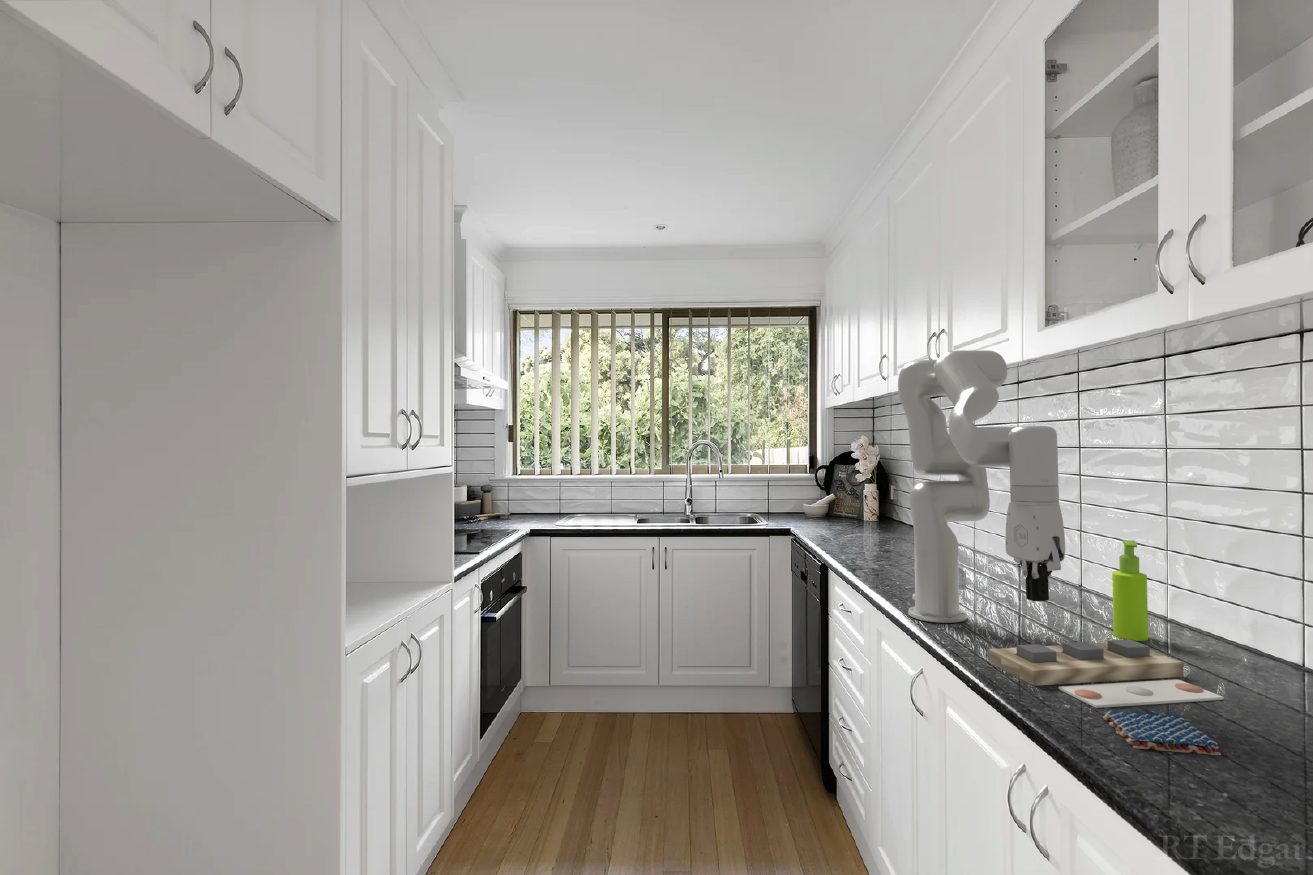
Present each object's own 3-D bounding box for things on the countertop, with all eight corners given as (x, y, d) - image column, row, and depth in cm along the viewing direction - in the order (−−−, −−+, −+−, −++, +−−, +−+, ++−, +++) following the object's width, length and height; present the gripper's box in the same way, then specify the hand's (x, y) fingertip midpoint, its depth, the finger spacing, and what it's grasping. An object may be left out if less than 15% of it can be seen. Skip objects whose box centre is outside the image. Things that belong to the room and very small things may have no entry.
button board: (1033, 685, 113) (1033, 670, 113) (989, 662, 125) (989, 649, 125) (1183, 676, 116) (1183, 662, 116) (1126, 654, 128) (1126, 641, 128)
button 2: (1080, 664, 118) (1080, 650, 118) (1062, 656, 122) (1062, 642, 122) (1103, 663, 118) (1103, 648, 118) (1084, 655, 123) (1084, 641, 123)
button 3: (1127, 661, 119) (1127, 647, 119) (1107, 654, 123) (1107, 640, 123) (1149, 660, 120) (1149, 646, 120) (1129, 652, 124) (1129, 639, 124)
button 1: (1033, 667, 117) (1033, 652, 117) (1016, 659, 121) (1016, 645, 121) (1056, 665, 117) (1056, 651, 117) (1039, 657, 122) (1039, 643, 122)
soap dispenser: (1116, 640, 138) (1114, 542, 138) (1111, 631, 144) (1110, 537, 144) (1151, 643, 135) (1149, 543, 135) (1145, 634, 141) (1143, 539, 141)
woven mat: (1132, 752, 89) (1132, 737, 89) (1100, 720, 100) (1099, 707, 100) (1224, 760, 87) (1224, 745, 87) (1181, 727, 97) (1181, 712, 97)
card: (1096, 707, 103) (1095, 703, 103) (1058, 688, 111) (1058, 685, 111) (1223, 699, 106) (1223, 695, 106) (1178, 681, 114) (1178, 678, 114)
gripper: (988, 494, 126) (991, 592, 126) (1044, 498, 111) (1047, 610, 111) (1025, 493, 127) (1028, 591, 127) (1085, 497, 112) (1089, 608, 112)
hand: (1037, 599), depth 119 cm, fingers closed
